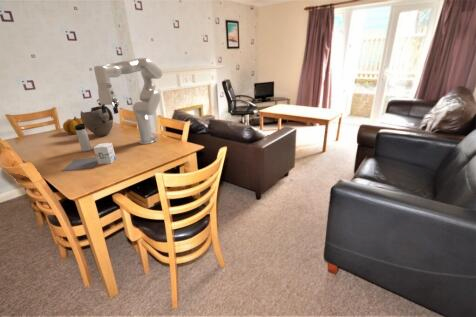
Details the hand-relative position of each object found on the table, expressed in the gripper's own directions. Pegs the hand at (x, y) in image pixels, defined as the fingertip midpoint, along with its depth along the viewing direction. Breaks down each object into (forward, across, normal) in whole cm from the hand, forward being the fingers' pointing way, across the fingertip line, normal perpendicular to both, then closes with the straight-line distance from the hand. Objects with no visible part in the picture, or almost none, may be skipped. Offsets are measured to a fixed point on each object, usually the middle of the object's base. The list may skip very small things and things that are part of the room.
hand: (110, 113), depth 159 cm
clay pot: (+28, +51, -36) cm, 69 cm away
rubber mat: (+30, +11, +19) cm, 37 cm away
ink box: (+30, -1, +12) cm, 32 cm away
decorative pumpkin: (+28, +84, -40) cm, 97 cm away
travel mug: (+30, +31, -1) cm, 43 cm away
